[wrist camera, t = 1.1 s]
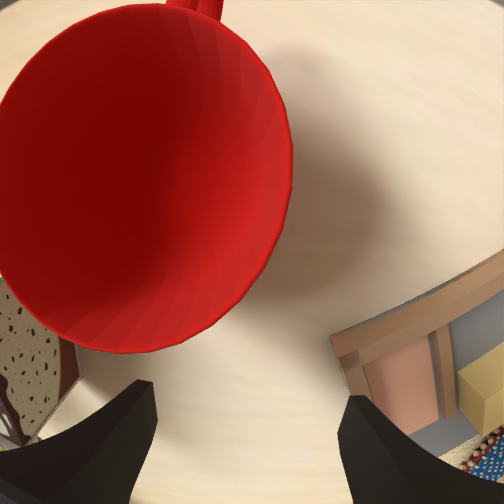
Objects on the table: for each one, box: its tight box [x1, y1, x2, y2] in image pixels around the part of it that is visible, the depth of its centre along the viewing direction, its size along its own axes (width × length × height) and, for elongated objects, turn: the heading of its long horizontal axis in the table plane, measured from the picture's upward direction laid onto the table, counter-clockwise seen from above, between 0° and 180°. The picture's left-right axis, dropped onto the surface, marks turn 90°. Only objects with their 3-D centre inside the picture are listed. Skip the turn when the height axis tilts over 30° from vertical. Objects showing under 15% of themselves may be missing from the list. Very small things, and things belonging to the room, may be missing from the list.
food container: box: [0, 277, 82, 450], centre depth 16 cm, size 12×6×10 cm, turn 175°
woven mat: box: [458, 423, 504, 482], centre depth 21 cm, size 10×11×2 cm
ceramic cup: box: [0, 0, 293, 354], centre depth 14 cm, size 13×17×10 cm
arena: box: [329, 249, 504, 457], centre depth 19 cm, size 18×18×3 cm
